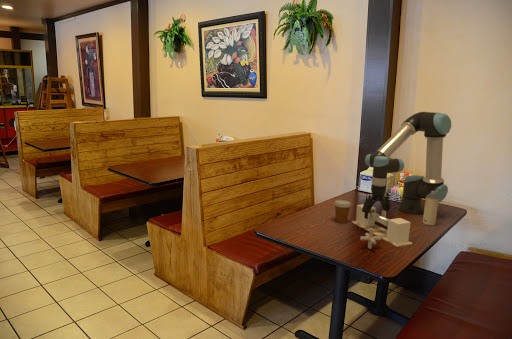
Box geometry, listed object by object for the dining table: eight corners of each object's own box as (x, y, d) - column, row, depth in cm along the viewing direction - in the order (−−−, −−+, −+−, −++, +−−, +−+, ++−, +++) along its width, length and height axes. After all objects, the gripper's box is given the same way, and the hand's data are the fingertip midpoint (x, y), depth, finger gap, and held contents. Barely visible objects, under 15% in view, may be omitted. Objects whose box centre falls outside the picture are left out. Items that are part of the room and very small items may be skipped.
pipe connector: (356, 243, 189) (358, 225, 187) (375, 243, 190) (377, 225, 188) (363, 252, 180) (365, 232, 177) (383, 252, 180) (385, 232, 178)
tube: (358, 214, 218) (359, 207, 217) (364, 213, 219) (365, 206, 218) (388, 228, 196) (388, 221, 195) (394, 227, 198) (395, 220, 197)
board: (351, 222, 220) (351, 221, 220) (365, 220, 224) (365, 219, 224) (397, 247, 187) (397, 245, 187) (412, 244, 191) (412, 243, 190)
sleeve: (355, 222, 219) (357, 205, 216) (365, 221, 221) (366, 203, 219) (364, 227, 211) (366, 209, 209) (374, 226, 214) (376, 207, 212)
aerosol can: (428, 221, 225) (432, 189, 220) (437, 225, 219) (442, 192, 214) (419, 222, 222) (424, 190, 217) (429, 226, 216) (434, 193, 211)
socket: (386, 239, 195) (388, 219, 193) (398, 237, 198) (400, 217, 196) (396, 245, 189) (398, 224, 186) (408, 243, 192) (410, 222, 190)
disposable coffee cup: (350, 220, 223) (352, 201, 220) (347, 225, 214) (349, 205, 212) (335, 217, 227) (336, 198, 224) (331, 222, 218) (332, 202, 216)
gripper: (390, 181, 211) (386, 218, 216) (357, 184, 202) (353, 222, 207) (400, 184, 205) (395, 222, 210) (366, 188, 196) (362, 227, 200)
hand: (374, 222), depth 208 cm, fingers open, 11 cm apart
